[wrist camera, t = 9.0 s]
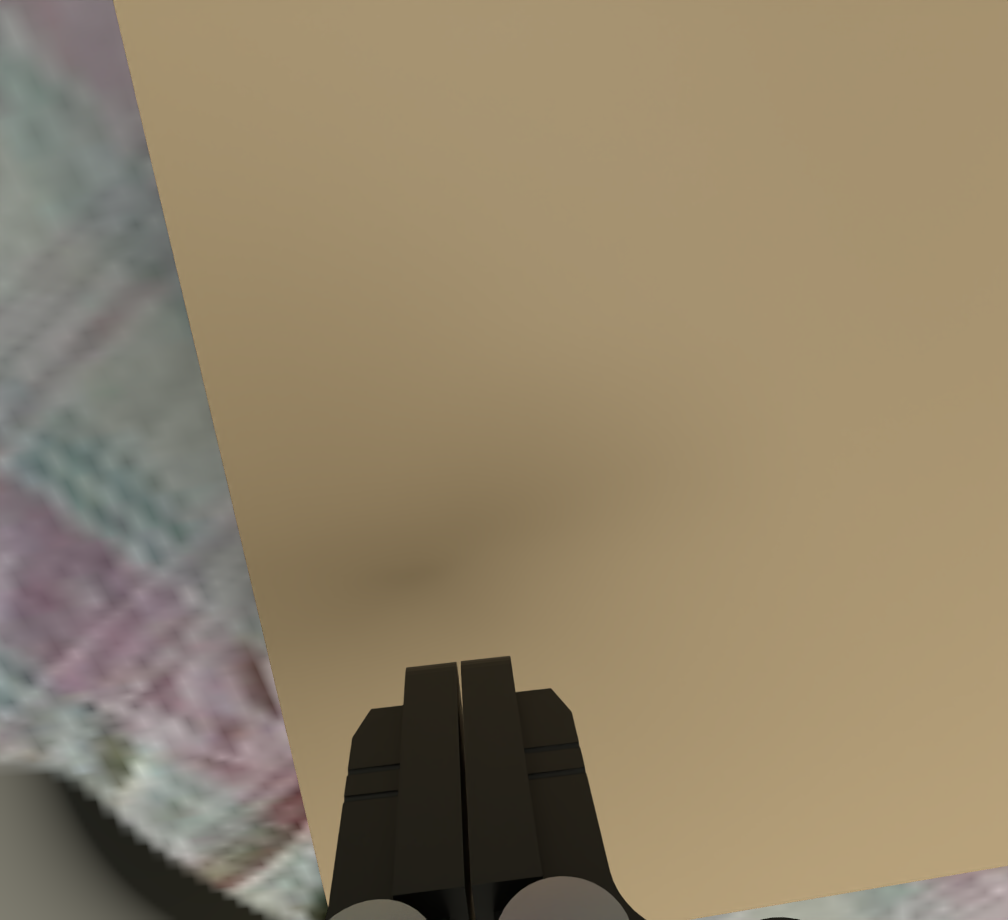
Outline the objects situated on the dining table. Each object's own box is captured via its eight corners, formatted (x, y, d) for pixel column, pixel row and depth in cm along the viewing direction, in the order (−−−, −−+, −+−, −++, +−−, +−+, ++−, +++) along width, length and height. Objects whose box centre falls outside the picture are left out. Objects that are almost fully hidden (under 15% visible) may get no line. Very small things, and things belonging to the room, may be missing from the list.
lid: (109, -87, 11) (88, -104, 10) (1258, -151, 13) (1311, -170, 12) (347, 947, 20) (344, 977, 19) (1014, 836, 21) (1036, 860, 20)
